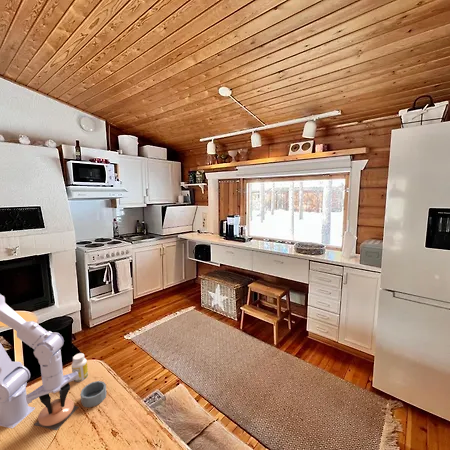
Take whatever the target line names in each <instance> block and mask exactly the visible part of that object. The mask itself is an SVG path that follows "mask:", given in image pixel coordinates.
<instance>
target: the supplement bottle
mask: <svg viewBox="0 0 450 450" xmlns="http://www.w3.org/2000/svg"><path fill="white" fill-rule="evenodd" d="M76 371H77V372H78V374H79V379H77V380H73V381H72V382H75V383H80V382H83V381H84V380H86V379H87V378H88V377H89V369H88V360H87V358H85V354H84V353H82V352H79V353H76V354H75V355H74V356H72V362H71V373H73V372H76Z"/></svg>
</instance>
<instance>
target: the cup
mask: <svg viewBox="0 0 450 450" xmlns="http://www.w3.org/2000/svg"><path fill="white" fill-rule="evenodd" d="M79 396H80V401H81V404H82V406H83V407H84V408H92V407H97V406H98V405H100V404H101V403H102V402H104V400H106V398H107V384H106V382H105V381H101V380H97V381H92V382H90V383H88V384H86V385H85V386H84V387H83V388H82V389H81V392H80V395H79Z"/></svg>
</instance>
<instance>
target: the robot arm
mask: <svg viewBox="0 0 450 450" xmlns="http://www.w3.org/2000/svg"><path fill="white" fill-rule="evenodd" d="M0 322H1V323H3V324H4V325H6V326H7V327H9V328H11V329H12V330H14V331H16V337H17V338H18V339H19V340H20V341H22V342H23V343H24V344H26V345H27V346H29V348H32V349H33V350H34V351H33V355H34V357H35V358H36V359H37V361H38V364H39V365H40V373H41V374H40V375H41V382H42V384H41V385H40V386H39V387H37V388H36V389H34V390H33V391H30V392H29V393H27V388H26V387H27V385H28V383H27V382H28V381H29V380H30V378H31V372H30V370H29V369H28V368H27V367H26V366H24V365H23V363H22V362H21V361H12V359H11V358H10V356H9V355H8V353H7V351H6V349H5V348H4V346H3V345H2V343H1V342H0V427H4V428H8V429H14V428H15V427H16V426H17V425H19V423H21V422H22V421H23V420H24V419H26V417H28V416H29V415H30V414H31V413H32V412H34V410H35V409H36V407H33V406H30V405H29V404H31V403H32V402H33V401H34V400H36V399H38V398H39V400H40V403H41V404H43V405H44V407H47V409H48V412H49V414H51V413H52V409H51V402H52V401H51V397H50V394H52V393H53V394H56V393H58V394H59V399H61V406H62V407H64V405H65V400H66V398H67V396H68V394H69V392H70V389H71V386H70V383H71V382H74V381H73V380H77V379H79V374H78V372H77V371H76V372H73V373H72V372H71V373H67V374H64V371H63V369H64V368H63V362H62V351H61V350H62V347H63V346H64V342H65V340H64V337H63V336H62V334H60V333H59V332H52V331H51V330H46V329H45V328H43V327H42V326H41V325H39V323H38V322H35V321H34V320H30V321H27V320H26V319H24V318H23V317H22V316H21V315H20V314H19V313H17V312H16V310H14V309H13V308H12V307H10V306H9V305H8V304H7V303H6V297H5V295H2V294H1V293H0Z"/></svg>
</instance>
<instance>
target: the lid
mask: <svg viewBox="0 0 450 450" xmlns="http://www.w3.org/2000/svg"><path fill="white" fill-rule="evenodd" d="M74 403H75V402H74V401H73V399H71V398H68V397H66V400H65V405H64V407H62V406H61V399H60V398H56V399H54V400H52V401H51V409H52V413H51V414H49V412H48V409H47V407H46V406H44V407H43V408H42V409H41V411H40V412H39V414H38V416H37V421H39V424H40V425H42V426H51V425H55V424H57V423H59V422H61V421H63V420H64V419H66V418H67V417H68V416H69V415H70V414H71V412H72V411H73V408H74V406H75V404H74Z"/></svg>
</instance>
